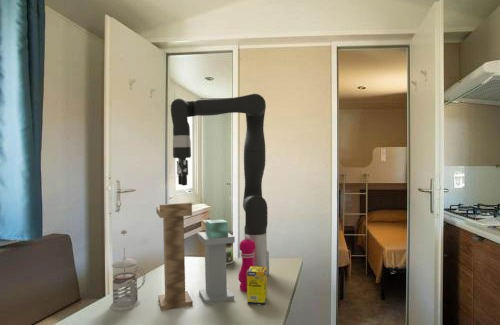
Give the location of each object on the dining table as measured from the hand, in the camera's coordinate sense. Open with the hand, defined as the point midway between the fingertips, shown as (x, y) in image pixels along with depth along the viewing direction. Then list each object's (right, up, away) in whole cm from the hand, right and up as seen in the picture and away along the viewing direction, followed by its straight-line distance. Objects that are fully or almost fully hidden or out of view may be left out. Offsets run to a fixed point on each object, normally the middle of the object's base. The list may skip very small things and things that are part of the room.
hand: (182, 184), depth 148 cm
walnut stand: (+3, -38, -30) cm, 49 cm away
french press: (-12, -38, -31) cm, 51 cm away
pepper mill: (+28, -38, -19) cm, 51 cm away
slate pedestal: (+17, -38, -26) cm, 49 cm away
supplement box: (+31, -37, -31) cm, 58 cm away
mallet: (+15, -16, -22) cm, 31 cm away
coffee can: (+16, -38, +18) cm, 45 cm away
